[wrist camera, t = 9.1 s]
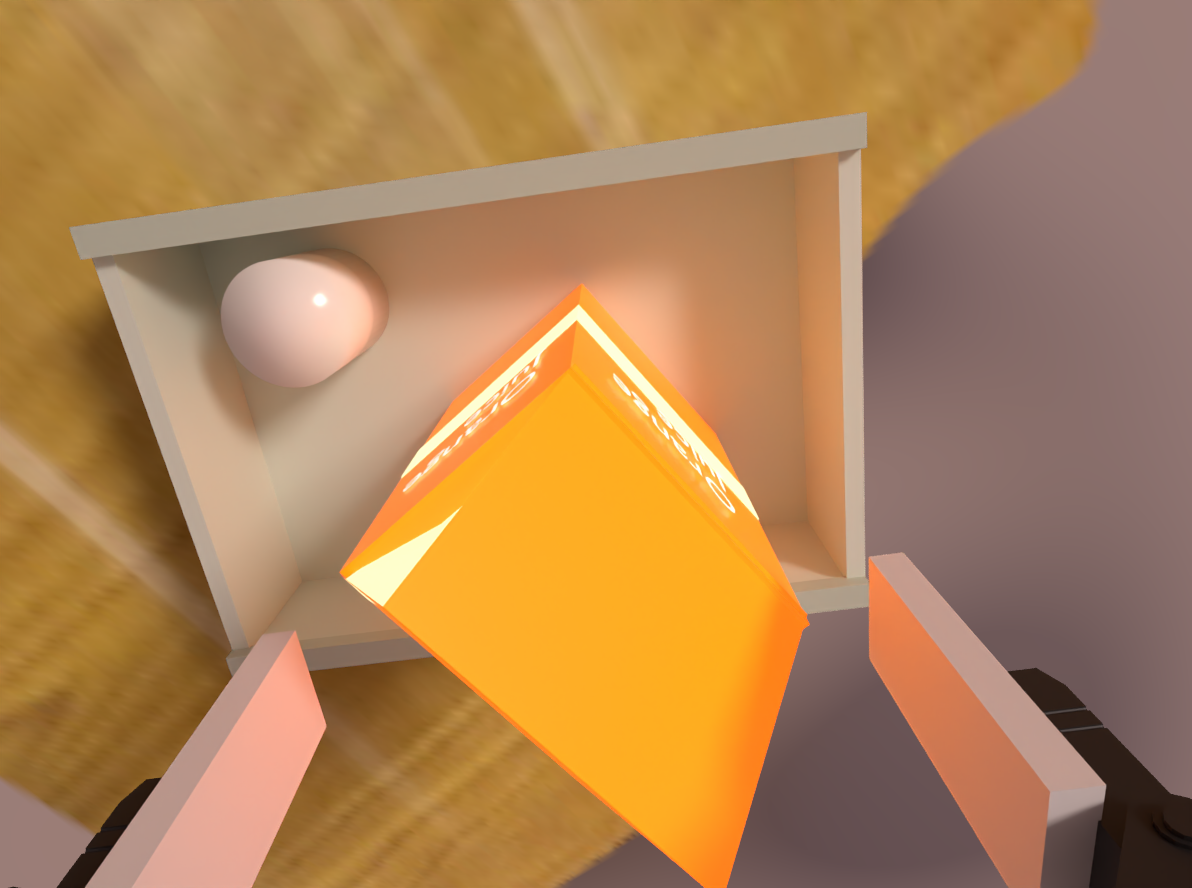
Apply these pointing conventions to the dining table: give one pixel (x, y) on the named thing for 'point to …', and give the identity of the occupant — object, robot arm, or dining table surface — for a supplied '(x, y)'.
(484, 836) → the dining table surface
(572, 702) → the orange juice
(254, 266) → the pink rounded egg
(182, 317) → the tote
